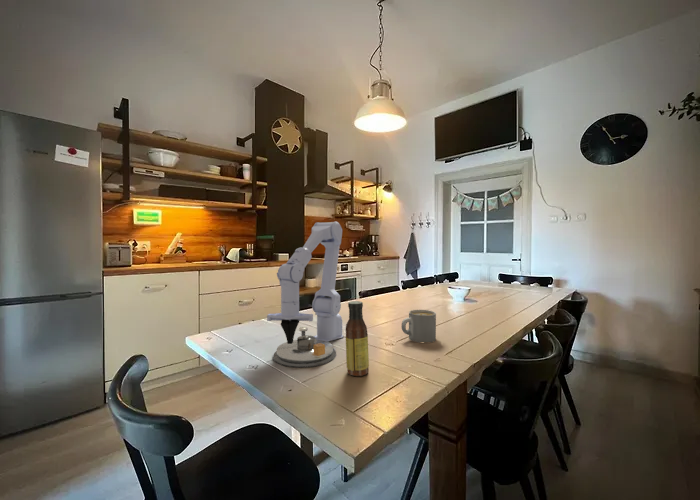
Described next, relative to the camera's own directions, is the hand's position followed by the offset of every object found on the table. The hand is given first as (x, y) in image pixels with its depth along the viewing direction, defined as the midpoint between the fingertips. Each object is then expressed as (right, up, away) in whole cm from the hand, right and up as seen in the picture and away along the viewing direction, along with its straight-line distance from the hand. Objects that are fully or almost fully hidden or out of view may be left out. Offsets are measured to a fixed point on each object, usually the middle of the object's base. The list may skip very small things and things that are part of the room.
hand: (290, 342), depth 100 cm
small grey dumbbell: (+2, -4, +12) cm, 13 cm away
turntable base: (+5, -4, 0) cm, 6 cm away
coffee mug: (+45, -4, +17) cm, 48 cm away
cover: (+5, -2, 0) cm, 5 cm away
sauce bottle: (+21, -5, -13) cm, 26 cm away
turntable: (+5, -4, 0) cm, 6 cm away
